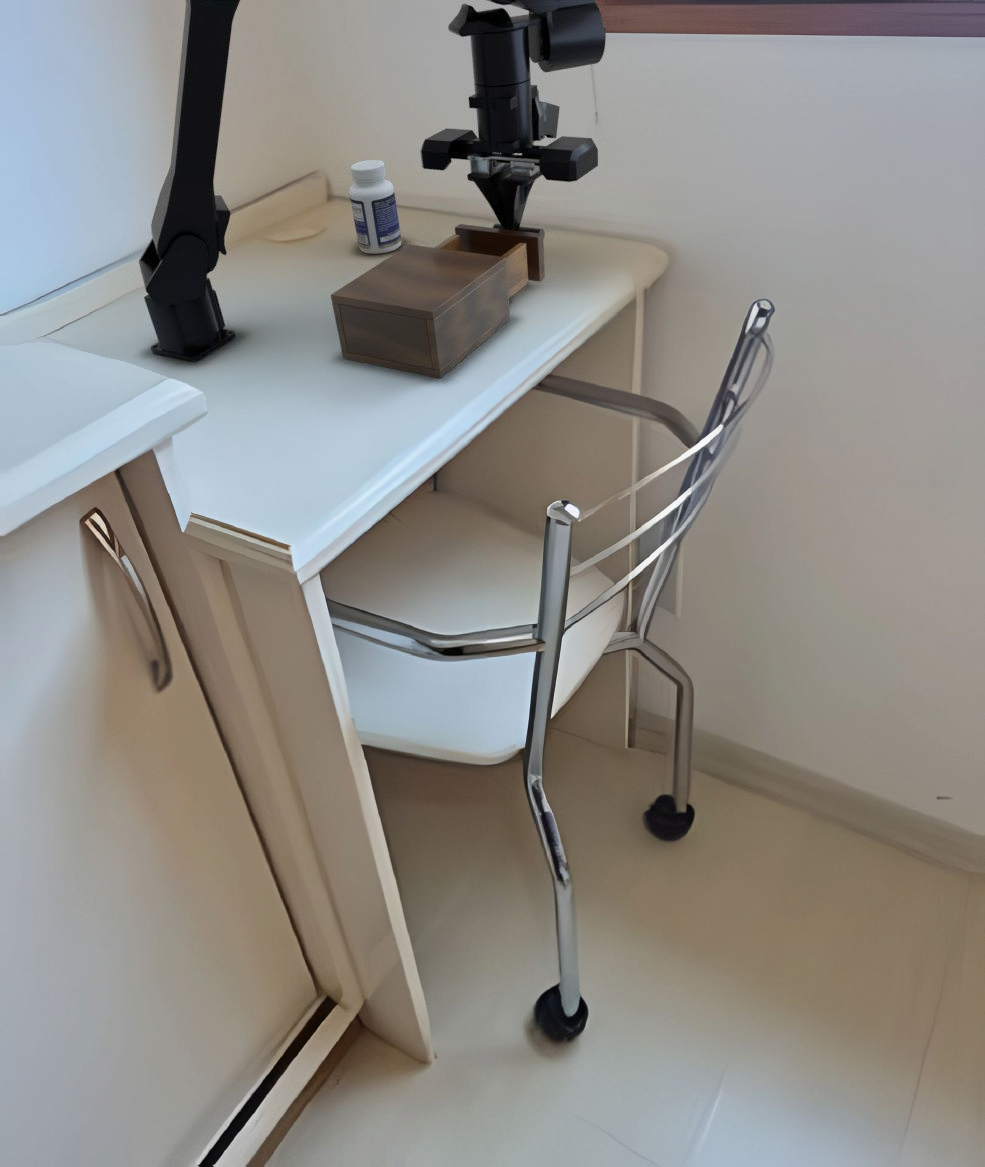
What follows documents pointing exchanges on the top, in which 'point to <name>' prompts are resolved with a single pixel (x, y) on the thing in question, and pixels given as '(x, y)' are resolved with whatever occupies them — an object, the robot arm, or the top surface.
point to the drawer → (504, 250)
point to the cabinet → (422, 309)
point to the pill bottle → (374, 208)
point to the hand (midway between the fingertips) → (512, 235)
